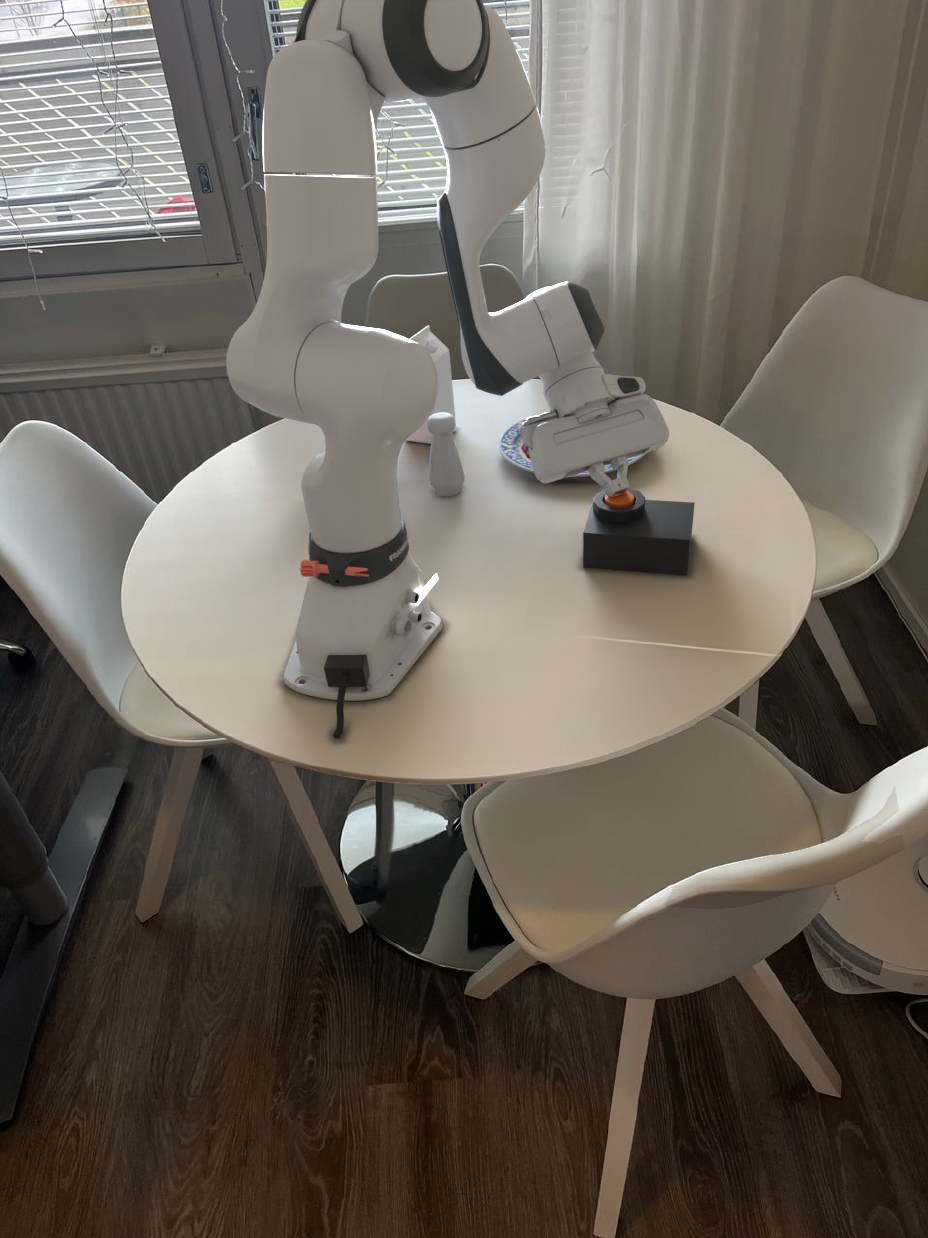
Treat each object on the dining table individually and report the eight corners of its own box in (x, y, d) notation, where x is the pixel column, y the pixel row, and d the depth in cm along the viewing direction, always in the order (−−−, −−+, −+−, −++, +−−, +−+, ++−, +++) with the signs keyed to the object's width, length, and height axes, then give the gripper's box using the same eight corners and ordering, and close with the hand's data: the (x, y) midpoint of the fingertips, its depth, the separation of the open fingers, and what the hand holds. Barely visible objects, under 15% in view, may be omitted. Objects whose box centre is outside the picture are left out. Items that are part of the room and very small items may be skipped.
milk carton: (404, 441, 158) (391, 337, 147) (422, 425, 163) (411, 323, 152) (439, 446, 155) (428, 340, 144) (456, 429, 160) (447, 326, 149)
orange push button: (635, 504, 122) (635, 490, 121) (631, 518, 119) (632, 504, 118) (606, 502, 123) (606, 489, 122) (602, 516, 120) (602, 503, 119)
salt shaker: (467, 481, 144) (461, 407, 136) (464, 498, 139) (457, 422, 131) (432, 482, 144) (424, 408, 137) (428, 499, 140) (419, 423, 132)
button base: (691, 537, 125) (695, 490, 120) (687, 576, 117) (691, 528, 112) (593, 530, 128) (593, 485, 124) (583, 568, 121) (583, 521, 116)
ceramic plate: (553, 503, 136) (553, 486, 134) (472, 446, 154) (470, 430, 152) (683, 456, 145) (684, 440, 143) (591, 408, 163) (591, 392, 161)
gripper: (522, 410, 115) (561, 506, 114) (652, 375, 121) (691, 465, 120) (509, 430, 121) (545, 521, 120) (633, 395, 127) (670, 481, 126)
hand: (619, 493), depth 120 cm, fingers closed, pressing on orange push button
